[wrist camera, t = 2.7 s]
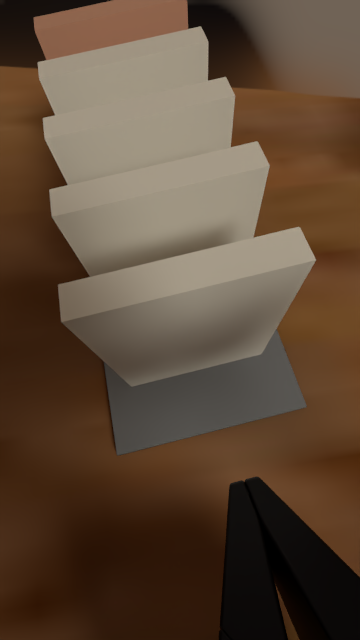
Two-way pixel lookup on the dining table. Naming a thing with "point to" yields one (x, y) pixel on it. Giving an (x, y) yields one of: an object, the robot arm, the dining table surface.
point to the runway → (202, 399)
